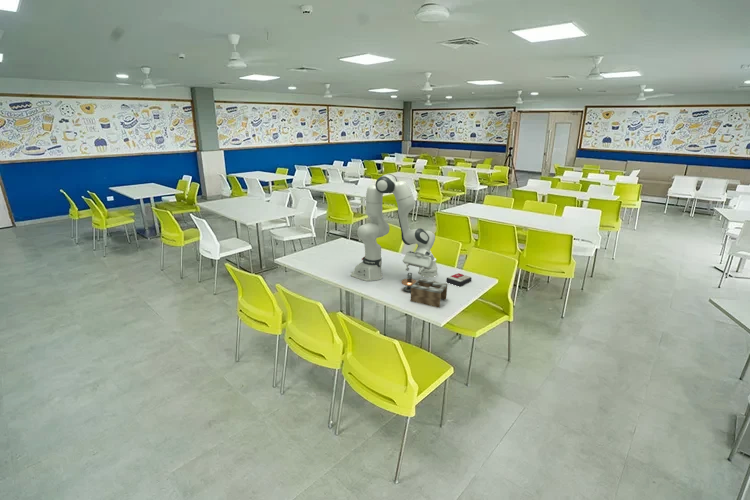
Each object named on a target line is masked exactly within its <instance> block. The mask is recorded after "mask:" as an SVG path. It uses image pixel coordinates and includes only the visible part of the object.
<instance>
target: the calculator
mask: <svg viewBox="0 0 750 500" xmlns="http://www.w3.org/2000/svg"><path fill="white" fill-rule="evenodd" d="M446 282H447V283H446ZM471 282H472V277H471V276H469V275H465V274H463V273H455V274H453V275H450V276H448V277H446V280H445V283H446V284H449V283H450V284H449V285H452V284H453V286H455V285H456V287H458V286H459V288H460V287H463V286H464V285H466V284H469V283H471Z"/></svg>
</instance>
